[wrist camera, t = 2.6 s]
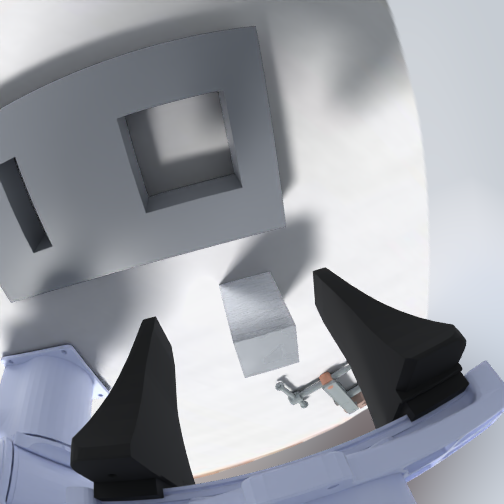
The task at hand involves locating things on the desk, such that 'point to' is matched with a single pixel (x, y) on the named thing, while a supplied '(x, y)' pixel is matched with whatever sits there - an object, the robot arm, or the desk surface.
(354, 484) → the robot arm
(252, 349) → the square bit
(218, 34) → the plate
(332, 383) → the clamp
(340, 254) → the desk surface
